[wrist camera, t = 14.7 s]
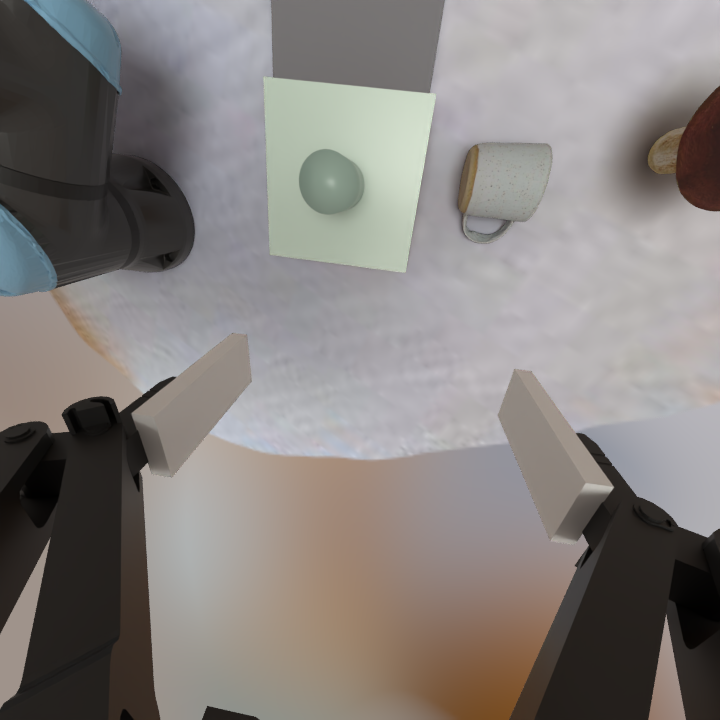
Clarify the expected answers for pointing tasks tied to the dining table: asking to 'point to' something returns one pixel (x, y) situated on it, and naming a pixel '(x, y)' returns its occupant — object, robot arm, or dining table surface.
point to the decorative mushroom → (693, 155)
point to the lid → (344, 171)
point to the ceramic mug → (503, 184)
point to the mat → (357, 42)
